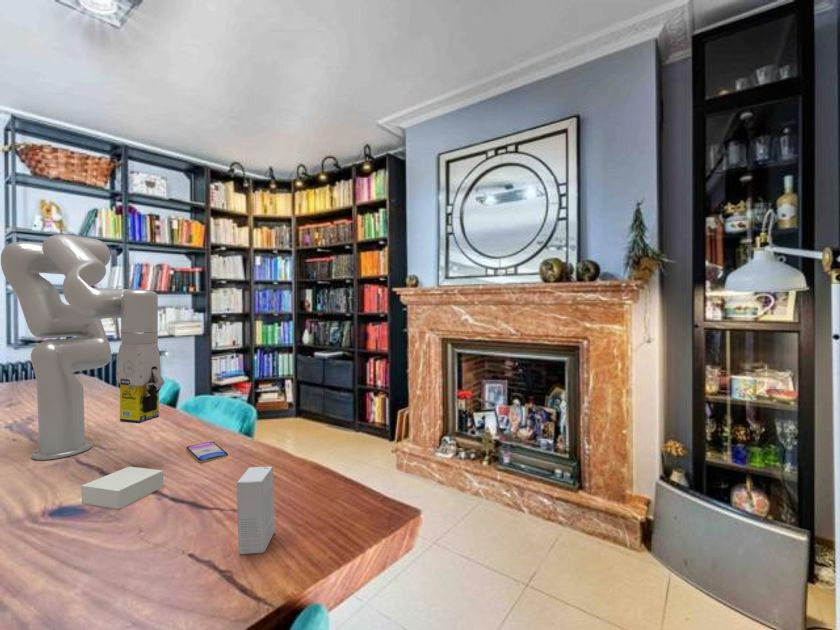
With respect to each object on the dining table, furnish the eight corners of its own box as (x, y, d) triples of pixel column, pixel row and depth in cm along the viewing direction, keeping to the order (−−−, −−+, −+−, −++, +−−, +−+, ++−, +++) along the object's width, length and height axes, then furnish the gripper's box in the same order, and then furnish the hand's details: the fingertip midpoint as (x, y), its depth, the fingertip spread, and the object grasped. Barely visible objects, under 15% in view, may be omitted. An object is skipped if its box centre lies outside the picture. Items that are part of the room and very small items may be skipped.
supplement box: (139, 424, 96) (139, 379, 95) (119, 422, 97) (118, 378, 96) (160, 417, 101) (160, 375, 101) (140, 415, 103) (140, 374, 102)
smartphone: (213, 443, 116) (213, 440, 116) (230, 457, 105) (230, 453, 105) (184, 449, 111) (184, 446, 111) (198, 465, 100) (198, 461, 100)
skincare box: (250, 533, 69) (249, 466, 69) (275, 532, 69) (273, 465, 69) (237, 555, 63) (235, 482, 63) (264, 553, 63) (263, 480, 63)
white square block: (81, 504, 81) (81, 485, 81) (129, 483, 90) (128, 466, 90) (118, 510, 78) (118, 491, 78) (163, 488, 88) (163, 470, 88)
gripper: (100, 338, 98) (100, 409, 98) (149, 342, 92) (149, 417, 93) (131, 336, 105) (131, 402, 105) (178, 339, 99) (178, 409, 100)
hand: (140, 408), depth 99 cm, fingers closed on supplement box, 6 cm apart
